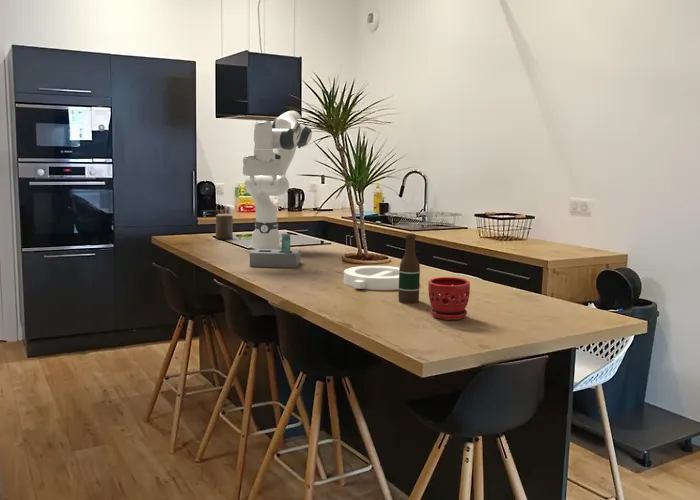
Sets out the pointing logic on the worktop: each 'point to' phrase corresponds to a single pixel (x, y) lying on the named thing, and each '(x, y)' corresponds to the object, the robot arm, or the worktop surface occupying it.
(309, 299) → the worktop surface
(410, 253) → the beer bottle
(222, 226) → the pillar candle
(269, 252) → the socket block
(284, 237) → the teal peg
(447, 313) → the plant pot
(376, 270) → the ring with crossbar
